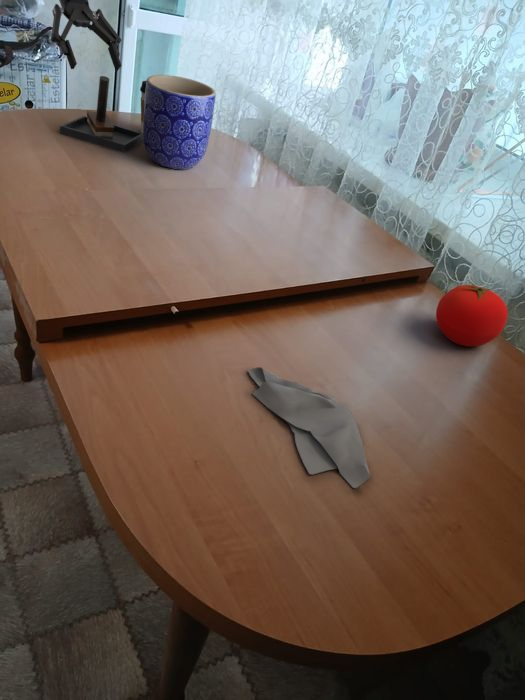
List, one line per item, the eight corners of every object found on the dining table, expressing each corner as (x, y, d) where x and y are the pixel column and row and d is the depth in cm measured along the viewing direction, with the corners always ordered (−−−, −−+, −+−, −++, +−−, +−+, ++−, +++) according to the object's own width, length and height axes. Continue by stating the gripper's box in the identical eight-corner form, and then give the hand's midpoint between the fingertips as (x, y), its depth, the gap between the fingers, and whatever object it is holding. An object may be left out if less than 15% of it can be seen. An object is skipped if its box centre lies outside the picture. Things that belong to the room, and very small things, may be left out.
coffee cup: (132, 133, 167) (135, 81, 158) (144, 127, 174) (148, 76, 165) (157, 141, 166) (162, 89, 157) (168, 135, 173) (174, 84, 164)
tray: (60, 133, 155) (59, 125, 153) (83, 122, 165) (83, 115, 164) (124, 152, 153) (124, 145, 152) (144, 140, 164) (144, 133, 163)
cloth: (399, 474, 78) (405, 463, 77) (321, 500, 72) (326, 489, 70) (307, 360, 95) (311, 350, 94) (237, 372, 88) (240, 362, 87)
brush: (86, 120, 161) (90, 69, 150) (104, 121, 163) (109, 71, 153) (95, 136, 157) (99, 85, 146) (113, 137, 159) (119, 86, 149)
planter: (195, 180, 148) (206, 101, 136) (130, 163, 148) (135, 82, 136) (212, 160, 163) (223, 87, 150) (153, 144, 163) (159, 70, 151)
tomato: (495, 364, 107) (524, 317, 100) (427, 345, 107) (451, 296, 100) (486, 330, 117) (512, 285, 110) (424, 312, 117) (446, 266, 110)
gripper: (106, 5, 161) (130, 75, 163) (22, -5, 146) (49, 73, 147) (116, -12, 155) (141, 61, 157) (29, -24, 140) (58, 57, 141)
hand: (96, 67), depth 152 cm, fingers open, 13 cm apart
